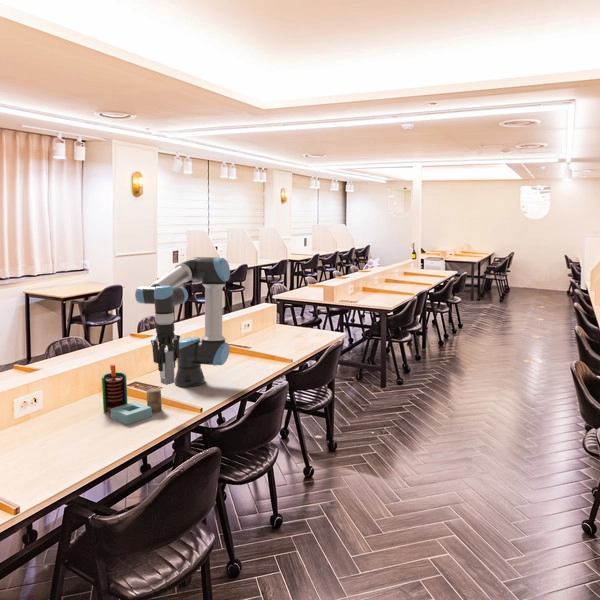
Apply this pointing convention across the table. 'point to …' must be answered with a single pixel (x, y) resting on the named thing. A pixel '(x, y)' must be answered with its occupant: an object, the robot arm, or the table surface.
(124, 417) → the socket block
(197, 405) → the table surface
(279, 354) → the table surface
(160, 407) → the round dowel
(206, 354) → the robot arm
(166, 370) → the square bit
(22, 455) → the table surface
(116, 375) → the motor
